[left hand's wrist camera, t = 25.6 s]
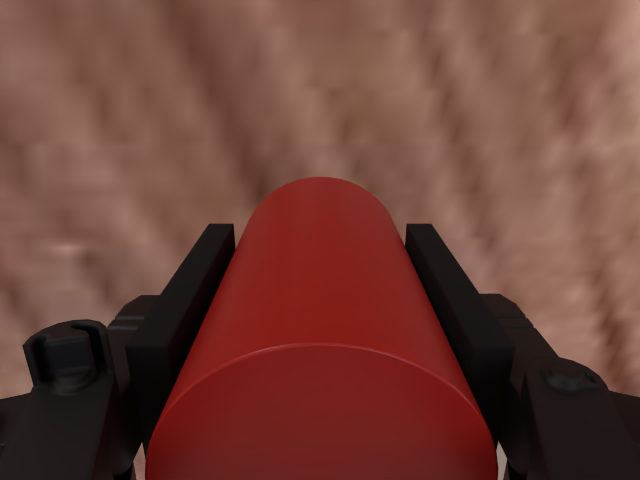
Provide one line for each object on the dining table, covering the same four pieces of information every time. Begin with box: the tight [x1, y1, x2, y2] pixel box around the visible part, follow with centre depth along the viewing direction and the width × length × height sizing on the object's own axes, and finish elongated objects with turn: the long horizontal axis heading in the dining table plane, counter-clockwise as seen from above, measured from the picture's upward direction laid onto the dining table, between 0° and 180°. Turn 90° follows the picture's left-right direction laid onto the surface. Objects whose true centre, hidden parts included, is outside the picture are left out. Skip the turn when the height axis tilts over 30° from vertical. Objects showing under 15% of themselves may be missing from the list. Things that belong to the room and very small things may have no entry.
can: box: [145, 177, 498, 480], centre depth 11 cm, size 5×5×9 cm
